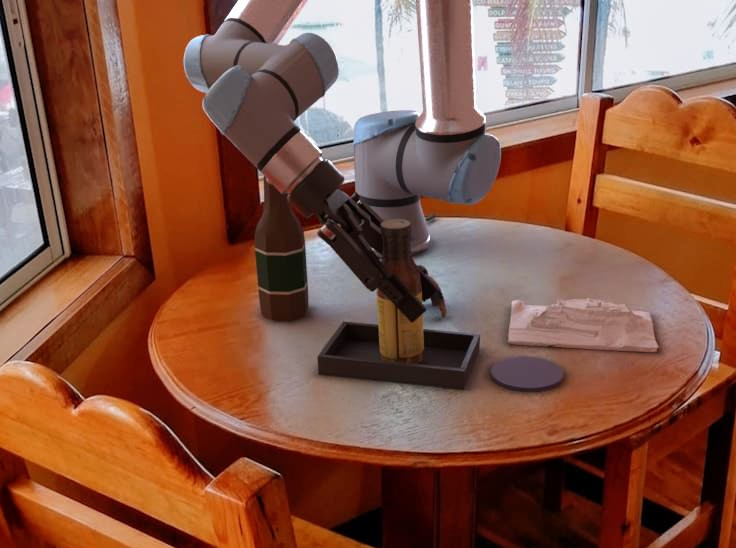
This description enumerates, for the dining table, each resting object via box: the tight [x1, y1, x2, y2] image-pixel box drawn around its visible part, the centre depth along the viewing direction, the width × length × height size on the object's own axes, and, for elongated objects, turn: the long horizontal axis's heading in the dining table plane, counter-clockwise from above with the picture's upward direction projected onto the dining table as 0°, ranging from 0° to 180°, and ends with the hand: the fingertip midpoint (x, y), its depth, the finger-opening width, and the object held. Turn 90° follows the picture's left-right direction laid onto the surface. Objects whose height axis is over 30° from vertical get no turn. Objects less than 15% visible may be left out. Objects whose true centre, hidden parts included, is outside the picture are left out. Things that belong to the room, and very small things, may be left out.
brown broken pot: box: [417, 264, 448, 319], centre depth 154 cm, size 12×10×8 cm
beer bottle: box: [254, 175, 309, 322], centre depth 148 cm, size 8×8×24 cm
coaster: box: [490, 355, 564, 393], centre depth 136 cm, size 10×10×1 cm
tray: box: [316, 320, 481, 391], centre depth 139 cm, size 13×21×3 cm, turn 77°
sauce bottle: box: [376, 219, 424, 364], centre depth 134 cm, size 7×6×20 cm
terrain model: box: [507, 297, 661, 353], centre depth 148 cm, size 17×23×5 cm
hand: (425, 305), depth 134 cm, fingers open, 7 cm apart
